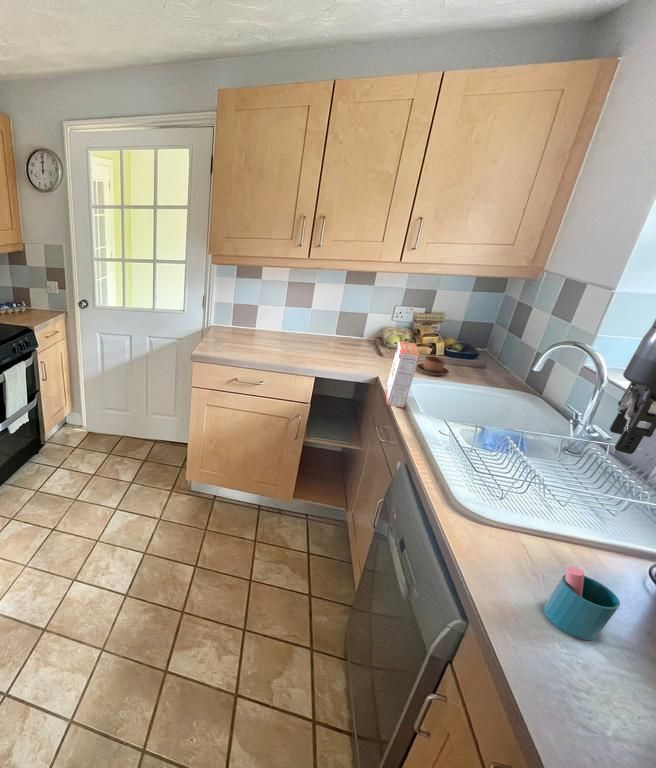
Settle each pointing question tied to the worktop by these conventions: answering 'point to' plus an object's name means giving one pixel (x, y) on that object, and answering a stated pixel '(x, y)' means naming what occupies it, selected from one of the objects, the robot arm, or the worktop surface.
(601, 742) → the worktop surface
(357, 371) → the worktop surface
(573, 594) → the teal cup
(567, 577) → the pink cylinder
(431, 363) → the cup and saucer
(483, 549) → the worktop surface
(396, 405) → the cracker box
